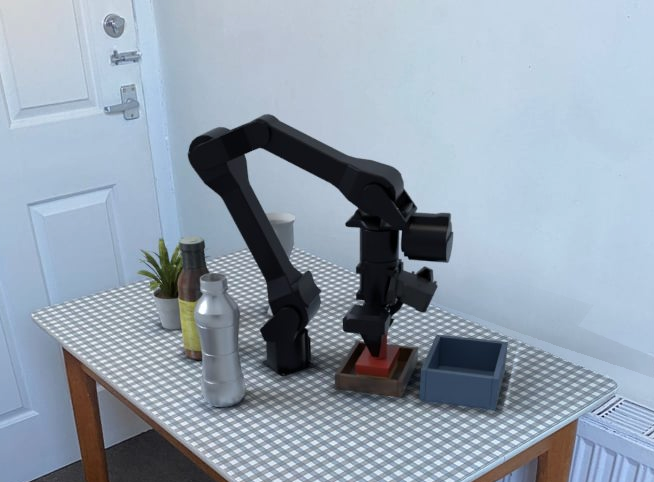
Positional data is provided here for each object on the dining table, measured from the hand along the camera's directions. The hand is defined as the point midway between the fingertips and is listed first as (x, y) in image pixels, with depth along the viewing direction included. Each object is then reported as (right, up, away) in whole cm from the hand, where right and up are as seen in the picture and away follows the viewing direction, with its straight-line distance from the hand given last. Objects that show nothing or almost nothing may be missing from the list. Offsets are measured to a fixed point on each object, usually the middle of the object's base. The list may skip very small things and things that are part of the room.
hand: (377, 352), depth 123 cm
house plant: (-35, +6, +22) cm, 42 cm away
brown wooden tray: (0, -4, +2) cm, 4 cm away
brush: (0, -3, +2) cm, 4 cm away
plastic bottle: (-23, -8, -3) cm, 25 cm away
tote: (+13, -6, -2) cm, 14 cm away
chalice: (-16, +9, +26) cm, 32 cm away
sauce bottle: (-29, 0, +12) cm, 31 cm away
